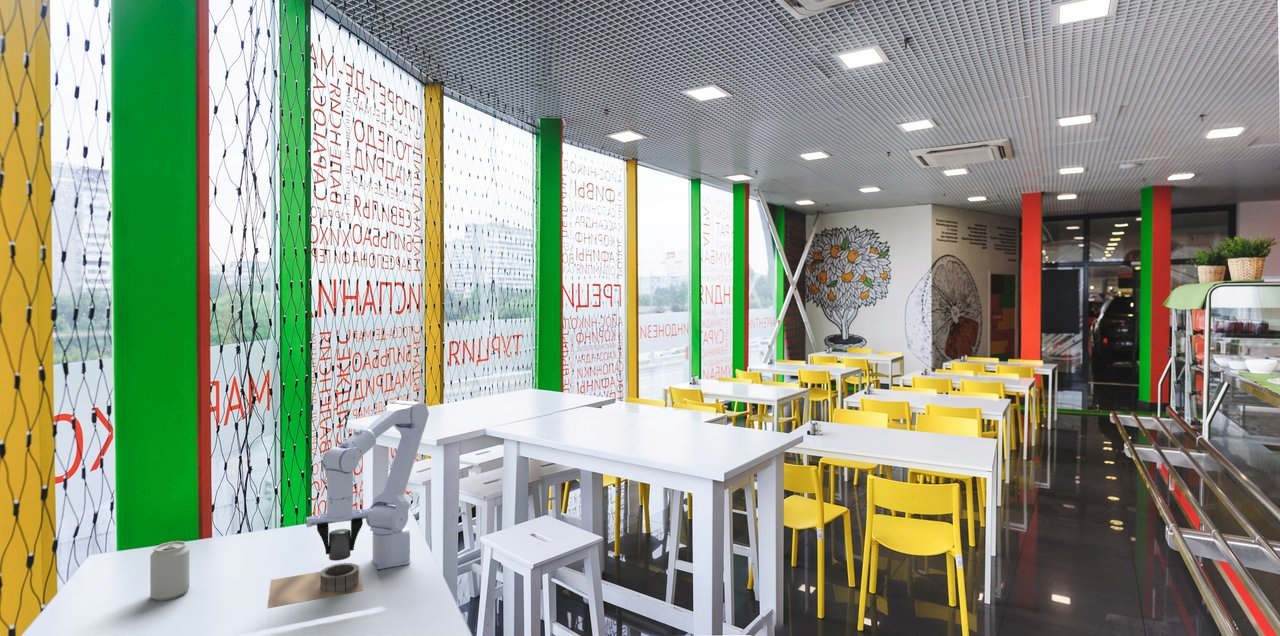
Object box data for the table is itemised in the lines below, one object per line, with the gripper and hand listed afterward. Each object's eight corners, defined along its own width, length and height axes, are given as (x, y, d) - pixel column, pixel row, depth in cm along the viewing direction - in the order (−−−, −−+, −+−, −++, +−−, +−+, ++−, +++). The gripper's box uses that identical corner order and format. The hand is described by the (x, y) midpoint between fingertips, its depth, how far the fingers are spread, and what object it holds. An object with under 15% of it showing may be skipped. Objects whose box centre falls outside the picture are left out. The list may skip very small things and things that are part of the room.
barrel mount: (358, 568, 164) (359, 552, 164) (363, 594, 150) (363, 575, 150) (271, 583, 154) (271, 566, 154) (267, 612, 140) (267, 592, 140)
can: (146, 604, 143) (146, 553, 143) (154, 591, 150) (154, 542, 149) (186, 598, 146) (186, 547, 146) (192, 585, 153) (192, 537, 153)
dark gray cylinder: (349, 551, 156) (349, 527, 156) (351, 558, 151) (351, 534, 151) (328, 554, 153) (328, 530, 153) (329, 562, 149) (329, 537, 149)
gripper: (306, 505, 145) (306, 562, 145) (373, 497, 152) (373, 551, 152) (306, 496, 151) (306, 551, 152) (371, 489, 158) (370, 541, 158)
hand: (339, 550), depth 152 cm, fingers closed on dark gray cylinder, 5 cm apart
